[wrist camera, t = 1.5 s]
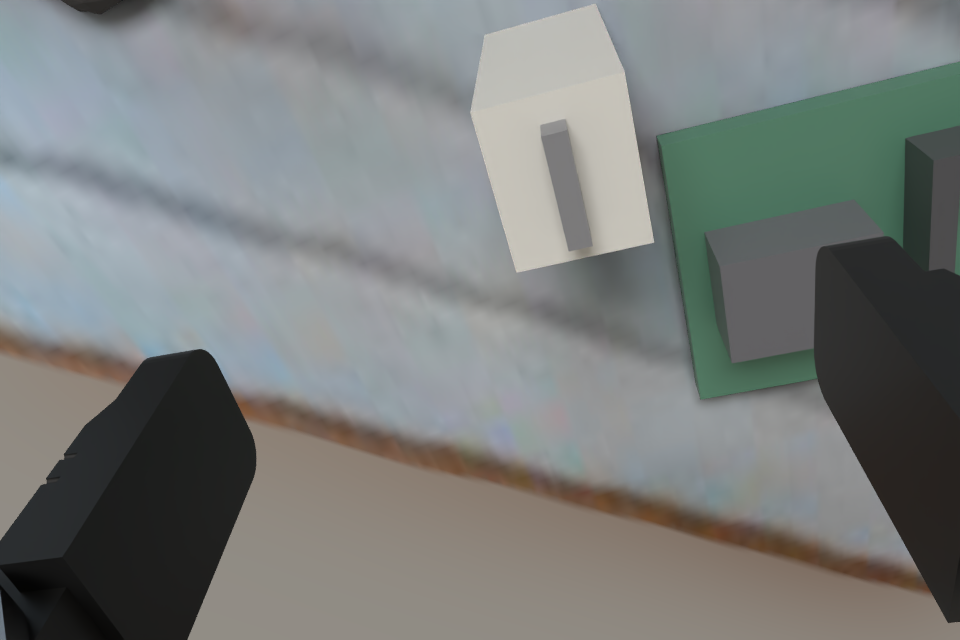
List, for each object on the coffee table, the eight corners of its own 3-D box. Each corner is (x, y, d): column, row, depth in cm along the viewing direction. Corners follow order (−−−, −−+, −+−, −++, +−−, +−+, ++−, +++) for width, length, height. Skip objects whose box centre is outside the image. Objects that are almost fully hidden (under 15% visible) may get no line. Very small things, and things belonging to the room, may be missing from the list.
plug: (595, 3, 24) (628, 81, 16) (620, 135, 26) (658, 257, 18) (484, 35, 24) (468, 124, 17) (518, 161, 26) (516, 288, 19)
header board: (1189, 5, 23) (1287, 31, 20) (1126, 305, 28) (1196, 360, 25) (656, 136, 26) (673, 174, 23) (695, 384, 31) (713, 441, 28)
